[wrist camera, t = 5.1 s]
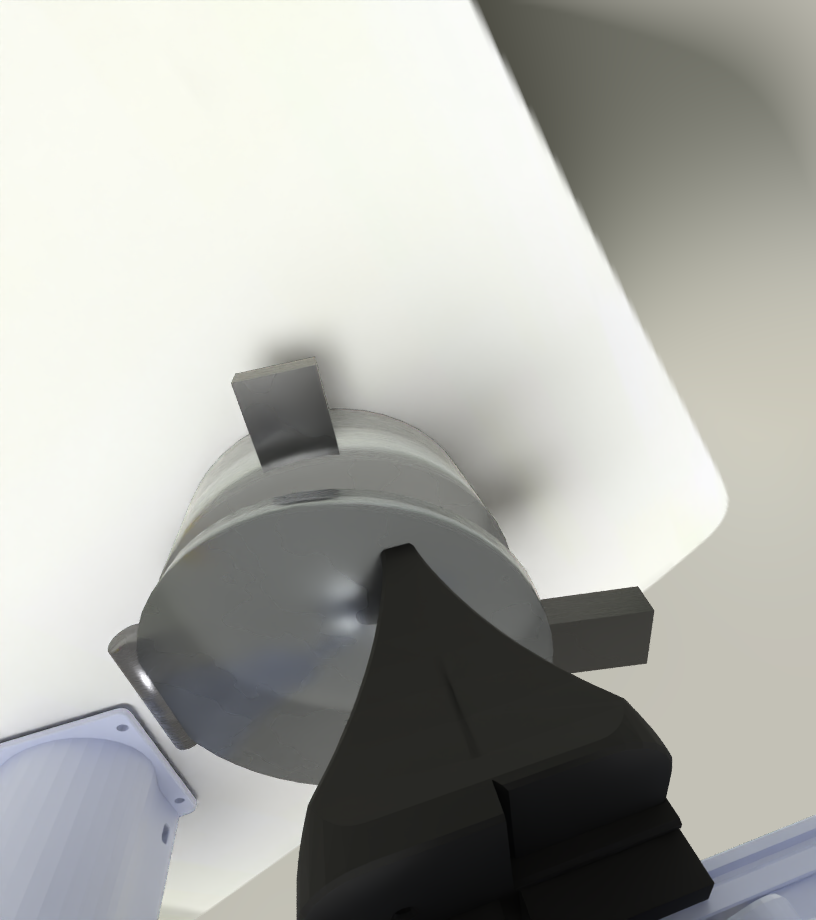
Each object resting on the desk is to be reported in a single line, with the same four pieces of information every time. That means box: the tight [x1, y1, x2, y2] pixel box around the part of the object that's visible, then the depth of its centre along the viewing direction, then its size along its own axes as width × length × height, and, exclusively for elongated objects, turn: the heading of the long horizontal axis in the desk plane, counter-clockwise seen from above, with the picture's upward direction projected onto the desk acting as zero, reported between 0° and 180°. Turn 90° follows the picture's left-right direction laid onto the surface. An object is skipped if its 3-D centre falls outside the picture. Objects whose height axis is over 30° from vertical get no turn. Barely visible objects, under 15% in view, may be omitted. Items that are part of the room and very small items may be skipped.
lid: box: [108, 489, 654, 785], centre depth 15 cm, size 13×17×1 cm
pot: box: [159, 357, 509, 581], centre depth 19 cm, size 19×13×5 cm
